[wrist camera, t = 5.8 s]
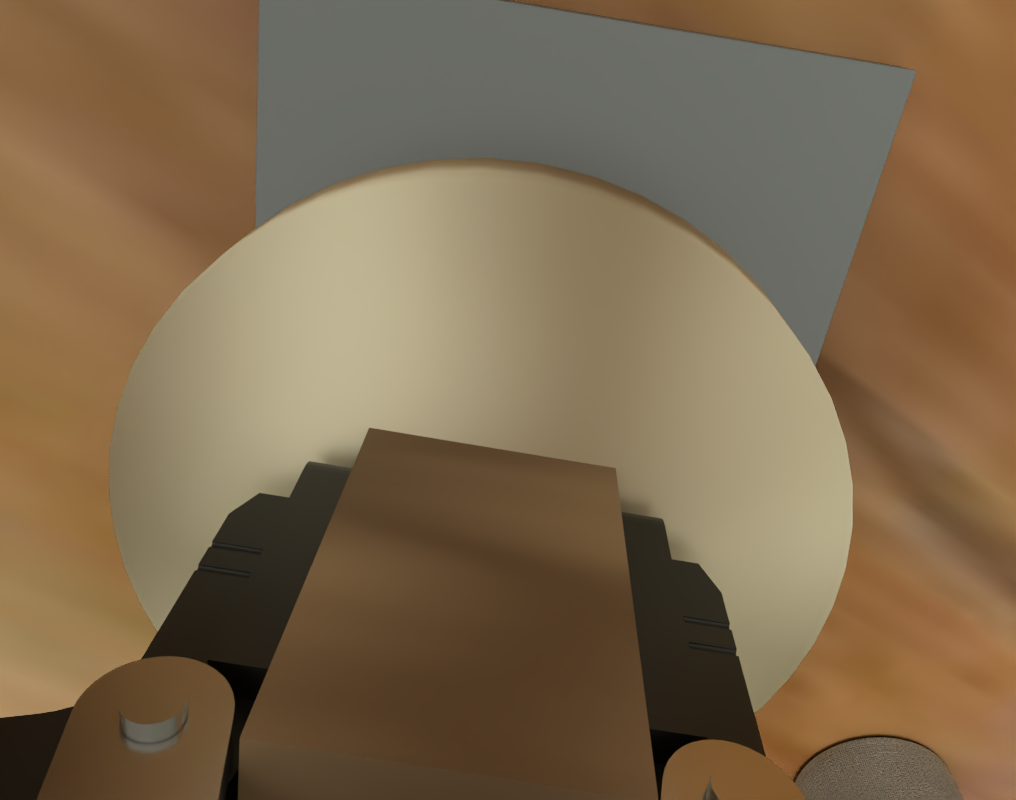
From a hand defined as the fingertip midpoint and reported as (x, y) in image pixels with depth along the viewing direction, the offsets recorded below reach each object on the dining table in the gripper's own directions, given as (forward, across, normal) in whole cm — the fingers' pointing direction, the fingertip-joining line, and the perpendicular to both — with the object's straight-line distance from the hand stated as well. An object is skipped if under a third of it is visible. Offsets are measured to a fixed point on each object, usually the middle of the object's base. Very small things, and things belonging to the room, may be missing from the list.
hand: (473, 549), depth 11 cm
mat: (+9, -1, 0) cm, 9 cm away
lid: (+2, 0, 0) cm, 2 cm away
